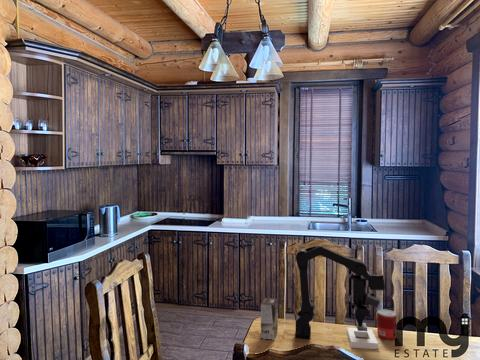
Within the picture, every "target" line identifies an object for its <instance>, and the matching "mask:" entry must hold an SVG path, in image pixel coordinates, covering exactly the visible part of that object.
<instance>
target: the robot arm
mask: <svg viewBox="0 0 480 360" xmlns="http://www.w3.org/2000/svg"><path fill="white" fill-rule="evenodd" d="M318 256H321V257H323V258H326V259H328V260H330V261H333V262H335V263H337V264H339V265H341V266H344V267H345V268H347V270H349V271H350V272H351V273H350V274H349V275H347V278H348V279H349V280H352V287H351V288H352V289H351V293H352V294H350V295H348V301H349V303H350V307H351V310H352V312H353V314H354V317H355V321H356V320H357V323H358V325H359V327H361V326H362V323H364V320H365V317H371V310H370V308H369V307H368V306H372V307H374V308H379V305H380V303H381V301H380V299H379V297H377V296H376V294H375V292H373V291H380V292H381V291H385V288H386V287H385V286H386V285H385V281H384V275H383V274H381V273H380V274H373V273H372V274H371V273H370V271H368V270H367V265H366V263H365V262H364V261H363V260H362V259H358V258H356V257H355V258H354V257H349V256H346V255H343V254H341V253H339V252H336V251H335V250H332V249H330V248H328V247H326V246H324V245H323V244H317V245H314V246H309V247H307V248H302V247H301V248H299V249H298V250H297V251H296V254H295V261H296V264H297V269H298V270H299V271H298V272H299V282H300V295H301V297H300V298H301V302H300V303H301V305H300V310H299V311H298V312H297V313H295V314H296V316H295V333H294V337H295V339H301V340H302V339H303V340H304V339H306V340H310V339H311V336H312V334H311V333H312V332H311V331H312V327H311V324H310V322H311V321H312V320H313V319H314V316H315V302H314V301H311V299H310V285H309V271H308V267H309V261H310V260H312V259H315V258H316V257H318ZM367 288H369V290H370V293H367ZM371 291H372V292H371Z"/></svg>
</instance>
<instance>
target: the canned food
mask: <svg viewBox="0 0 480 360" xmlns="http://www.w3.org/2000/svg"><path fill="white" fill-rule="evenodd" d="M376 317H377V323H376V324H377V325H376V326H377V336H378V337H379V338H380V339H383V340H388V341H394V340H396V338H397V313H396V312H395V311H393V310H391V309H382V308H381V309H378V310H377V316H376ZM393 339H394V340H393Z"/></svg>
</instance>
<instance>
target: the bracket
mask: <svg viewBox="0 0 480 360" xmlns="http://www.w3.org/2000/svg"><path fill="white" fill-rule="evenodd" d="M355 326H356V327H355V328H357V330H358V331H367V329H368V326H367V323H366V322H363V323H362V326H361V327H359V325H358V323H357V320H356V319H355Z"/></svg>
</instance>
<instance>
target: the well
mask: <svg viewBox="0 0 480 360" xmlns="http://www.w3.org/2000/svg"><path fill="white" fill-rule="evenodd" d="M372 329H373V328H367V331H358V330H357V327H346V334H347V338H348V341H349V344H350V347H351V348H353V349H354V348H355V349H356V348H357V349H368V350H370V349H371V350H379V342H378V340H377V338H376V336H375V334H374V331H373V330H372Z"/></svg>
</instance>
